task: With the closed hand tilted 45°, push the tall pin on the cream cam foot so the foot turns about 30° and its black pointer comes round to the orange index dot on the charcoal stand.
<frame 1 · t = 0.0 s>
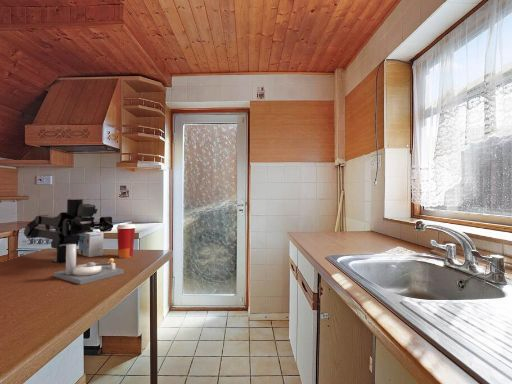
hand: (101, 227, 114), 17 cm above the counter, tool horizontal, fingers open, 9 cm apart
cam foot: (89, 257, 105), point 7 cm above the counter, hinge at 0.0°
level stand: (89, 274, 107), on the counter
light bulb box: (90, 255, 141), on the counter
coffee cup: (125, 257, 138), on the counter
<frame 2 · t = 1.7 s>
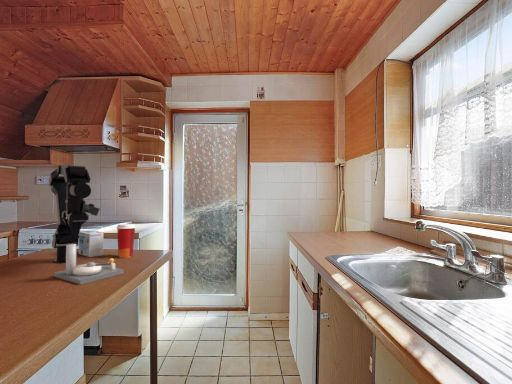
hand: (74, 237, 116), 12 cm above the counter, tool pointing down, fingers open, 6 cm apart
nothing on the counter moved.
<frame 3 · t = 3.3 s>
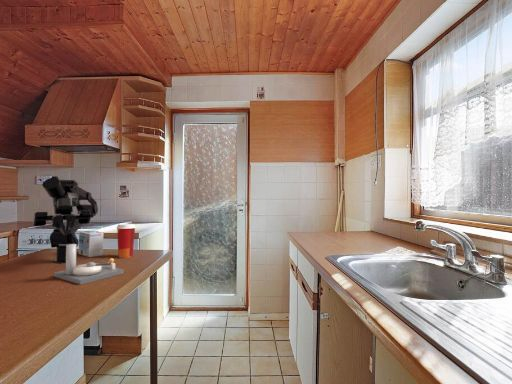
hand: (65, 235, 113), 13 cm above the counter, tool tilted 45°, fingers closed
nothing on the counter moved.
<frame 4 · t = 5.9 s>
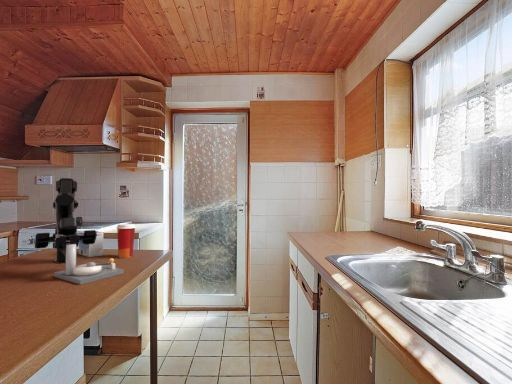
hand: (68, 258, 104), 7 cm above the counter, tool tilted 45°, fingers closed, pressing on cam foot
cam foot: (89, 257, 105), point 7 cm above the counter, hinge at 4.4°, touching gripper
everything else where it was.
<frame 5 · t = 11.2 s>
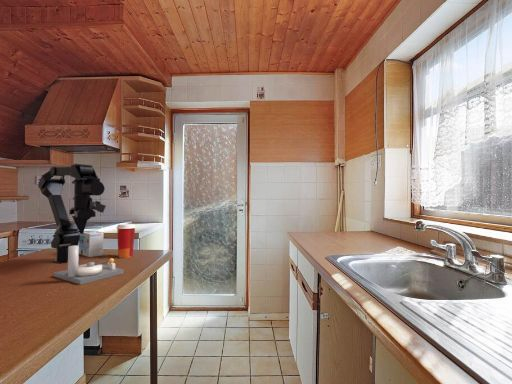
hand: (81, 233, 121), 13 cm above the counter, tool pointing down, fingers closed
cam foot: (89, 258, 105), point 7 cm above the counter, hinge at 33.9°
everything else where it was.
at the end: cam foot at +34° (first picture: +0°) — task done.
